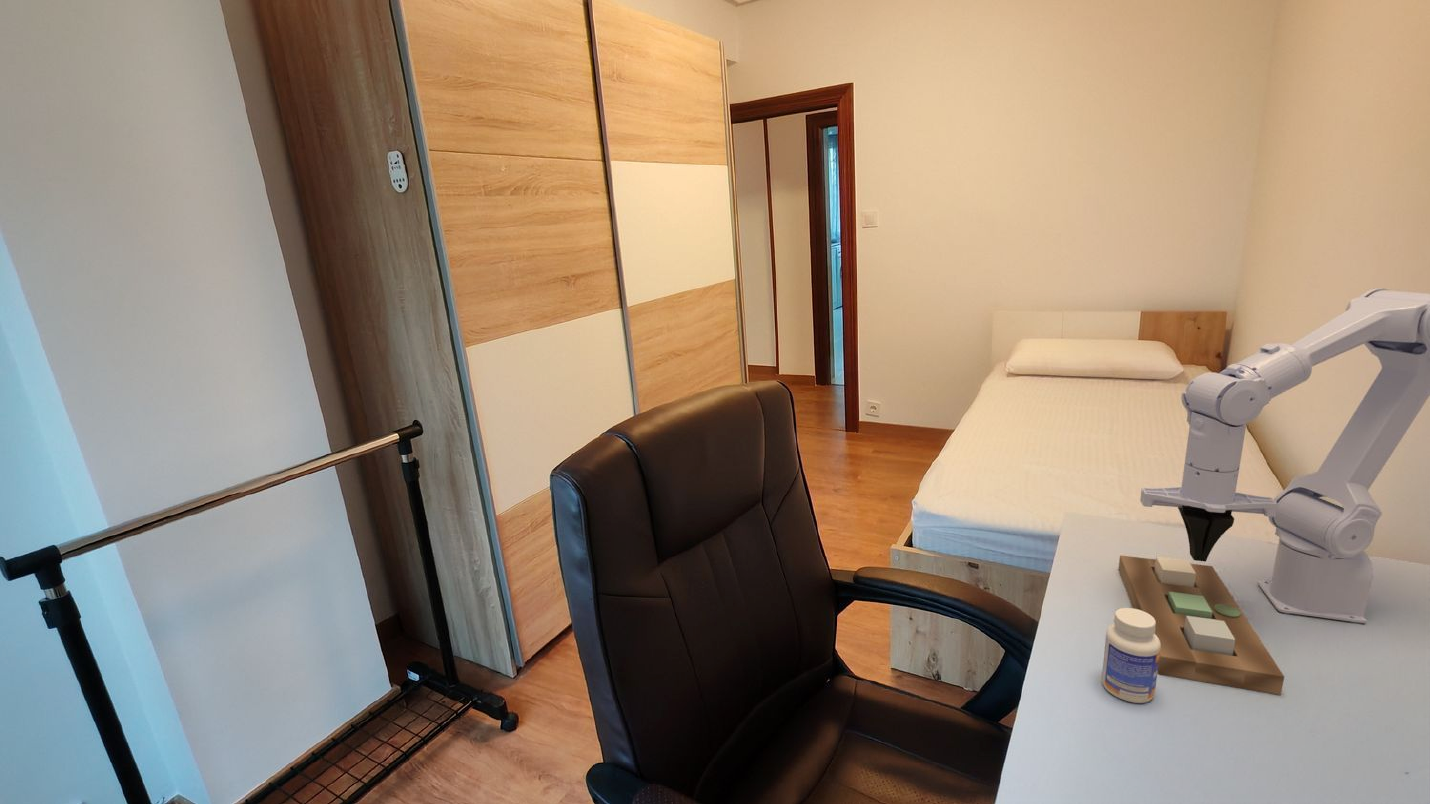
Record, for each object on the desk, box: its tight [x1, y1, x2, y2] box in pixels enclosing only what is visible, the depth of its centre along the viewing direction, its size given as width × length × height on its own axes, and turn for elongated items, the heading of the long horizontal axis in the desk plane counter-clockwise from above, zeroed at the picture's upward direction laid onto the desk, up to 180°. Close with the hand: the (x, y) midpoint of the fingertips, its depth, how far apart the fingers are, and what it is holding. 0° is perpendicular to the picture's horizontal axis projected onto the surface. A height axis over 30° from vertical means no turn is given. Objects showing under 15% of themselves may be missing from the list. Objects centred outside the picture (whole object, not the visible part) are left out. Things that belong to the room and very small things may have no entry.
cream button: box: [1154, 556, 1196, 587], centre depth 95 cm, size 4×4×3 cm
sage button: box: [1167, 592, 1213, 619], centre depth 88 cm, size 4×4×3 cm
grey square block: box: [1183, 616, 1235, 656], centre depth 81 cm, size 4×4×3 cm
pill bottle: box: [1101, 607, 1161, 704], centre depth 76 cm, size 5×5×10 cm
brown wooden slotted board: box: [1118, 555, 1285, 696], centre depth 88 cm, size 12×26×3 cm, turn 158°
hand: (1197, 557), depth 88 cm, fingers closed
